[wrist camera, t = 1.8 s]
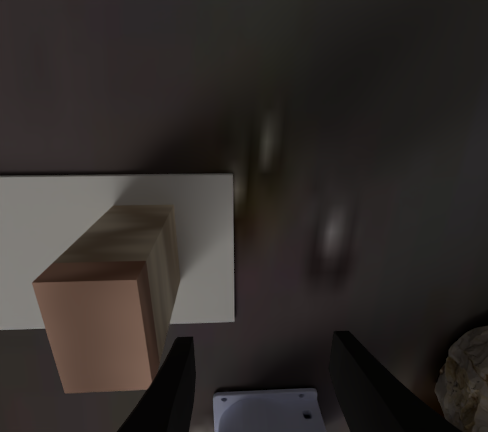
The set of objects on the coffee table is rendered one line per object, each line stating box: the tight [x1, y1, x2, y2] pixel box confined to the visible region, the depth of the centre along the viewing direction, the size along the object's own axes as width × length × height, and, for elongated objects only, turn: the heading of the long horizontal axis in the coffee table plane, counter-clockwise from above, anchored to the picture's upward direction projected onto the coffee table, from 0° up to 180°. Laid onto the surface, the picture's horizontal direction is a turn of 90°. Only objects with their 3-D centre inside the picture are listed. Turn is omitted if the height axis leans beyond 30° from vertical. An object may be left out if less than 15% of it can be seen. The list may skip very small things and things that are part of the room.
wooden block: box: [32, 205, 180, 393], centre depth 17 cm, size 4×6×9 cm, turn 0°
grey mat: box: [0, 173, 234, 330], centre depth 22 cm, size 20×12×1 cm, turn 90°
